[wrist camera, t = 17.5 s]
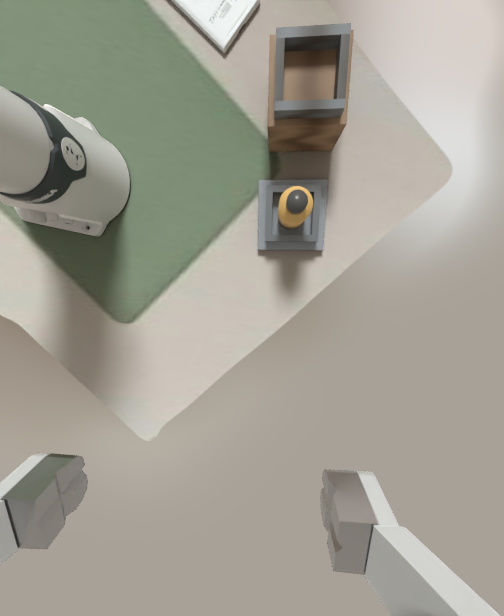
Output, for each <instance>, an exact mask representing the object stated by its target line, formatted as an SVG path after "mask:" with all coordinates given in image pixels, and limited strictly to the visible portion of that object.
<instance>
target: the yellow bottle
mask: <svg viewBox="0 0 504 616" xmlns="http://www.w3.org/2000/svg"><path fill="white" fill-rule="evenodd" d="M312 208H313V198H312V196H311V194H310V192H309V191H308V190H307V189H305V188H303V187H300V186H293V187H290V188H288V189H287V190H285V191H284V193H283V194H282V195H281V197H280V200H279V209H278V220H279V223H280V224H281V226H282V227H284V228H286V229H290V230H291V229H296V228H298V227H299V226H300V225H301V224H302V223H303V222H304V221H305V219H306V218H307V217H308V216H309V214H310V213H311V211H312Z"/></svg>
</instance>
